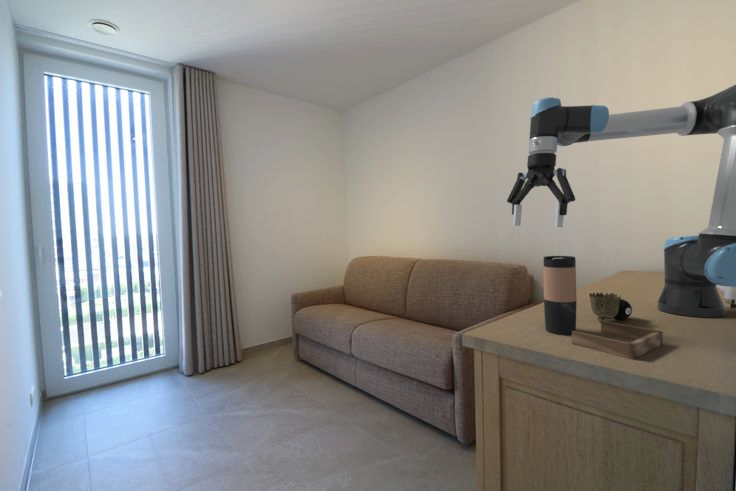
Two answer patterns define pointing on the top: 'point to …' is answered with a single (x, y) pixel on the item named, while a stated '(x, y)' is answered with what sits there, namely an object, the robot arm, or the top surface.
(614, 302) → the cup
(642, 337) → the shallow wooden tray
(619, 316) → the billiard ball
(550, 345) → the top surface
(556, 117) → the robot arm
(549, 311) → the travel mug
